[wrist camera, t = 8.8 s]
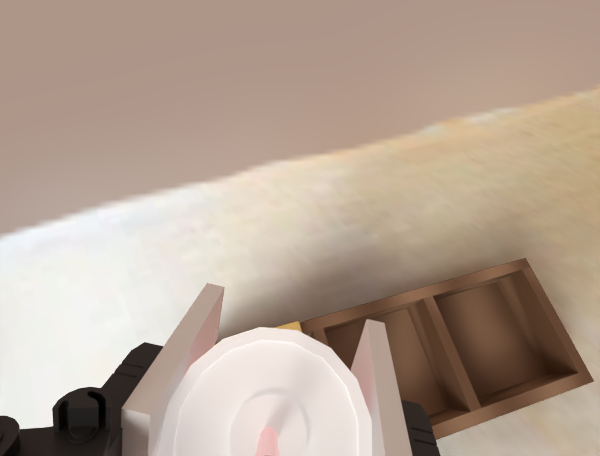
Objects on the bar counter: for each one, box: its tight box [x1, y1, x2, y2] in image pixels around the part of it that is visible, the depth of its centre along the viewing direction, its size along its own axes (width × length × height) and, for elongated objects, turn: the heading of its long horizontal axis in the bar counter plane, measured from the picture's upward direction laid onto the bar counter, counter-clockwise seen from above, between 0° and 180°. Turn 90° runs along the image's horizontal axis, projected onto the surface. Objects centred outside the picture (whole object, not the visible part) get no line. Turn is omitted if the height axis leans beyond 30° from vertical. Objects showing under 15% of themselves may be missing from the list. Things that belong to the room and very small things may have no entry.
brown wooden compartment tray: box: [214, 258, 594, 440], centre depth 27 cm, size 27×10×5 cm, turn 106°
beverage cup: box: [158, 327, 372, 456], centre depth 12 cm, size 6×6×14 cm
